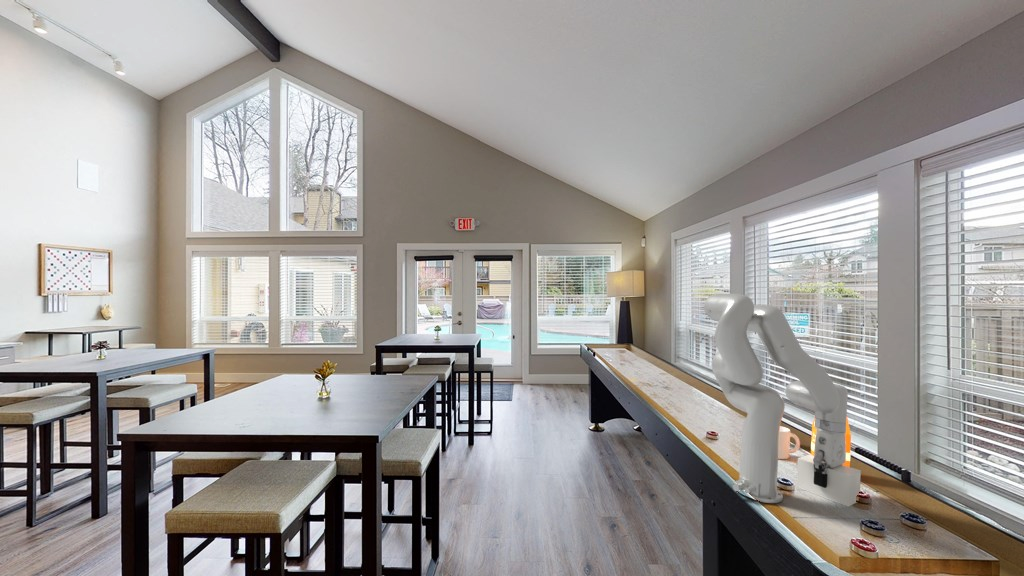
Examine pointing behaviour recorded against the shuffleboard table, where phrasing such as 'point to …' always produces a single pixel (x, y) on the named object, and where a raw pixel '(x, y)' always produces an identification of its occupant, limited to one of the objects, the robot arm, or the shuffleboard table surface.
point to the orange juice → (847, 440)
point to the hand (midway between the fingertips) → (827, 482)
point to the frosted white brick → (830, 481)
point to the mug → (786, 443)
